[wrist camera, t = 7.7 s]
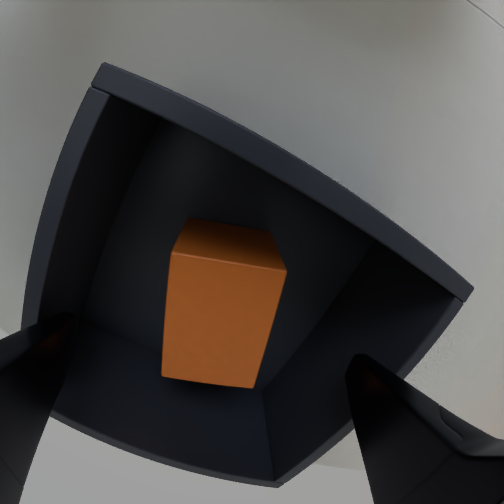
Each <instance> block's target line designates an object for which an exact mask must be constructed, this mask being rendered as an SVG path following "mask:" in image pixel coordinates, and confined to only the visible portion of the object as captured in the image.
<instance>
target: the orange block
mask: <svg viewBox="0 0 504 504" xmlns="http://www.w3.org/2000/svg"><path fill="white" fill-rule="evenodd" d="M286 275H287V270H286V267H285V265H284V262H283V260H282V258H281V255H280V253H279V251H278V248H277V246H276V244H275V241H274V239H273V237H272V234H271V232H269V231H264V230H259V229H253V228H248V227H242V226H236V225H231V224H225V223H219V222H213V221H207V220H202V219H196V218H190V217H188V218H187V219H186V221H185V224H184V226H183V228H182V230H181V232H180V234H179V236H178V238H177V241H176V243H175V245H174V247H173V249H172V252H171V255H170V264H169V273H168V283H167V293H166V304H165V317H164V330H163V345H162V364H161V375H162V376H163V377H169V378H174V379H180V380H187V381H193V382H200V383H208V384H216V385H224V386H233V387H243V388H253V387H254V385H255V382H256V378H257V375H258V372H259V369H260V365H261V362H262V359H263V355H264V352H265V349H266V345H267V342H268V339H269V335H270V332H271V328H272V325H273V321H274V318H275V314H276V311H277V307H278V304H279V300H280V297H281V293H282V290H283V286H284V282H285V279H286Z"/></svg>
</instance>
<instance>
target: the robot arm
mask: <svg viewBox="0 0 504 504" xmlns="http://www.w3.org/2000/svg"><path fill="white" fill-rule="evenodd" d="M78 340H79V332H78V323H77V316H76V314H75V313H71V312H67V311H63V312H61V313H58V314H56V315H54V316H52V317H49V318H47V319H45V320H43V321H40V322H38V323H36V324H34V325H32V326H29V327H27V328H25V329H23V330H20V331H18V332H16V333H14V334H12V335H9V336H7V337H5V338H3V339H1V340H0V504H19V501H20V498H21V495H22V491H23V486H24V484H25V481H26V478H27V475H28V472H29V469H30V466H31V463H32V460H33V457H34V454H35V452H36V449H37V446H38V444H39V441H40V438H41V436H42V433H43V431H44V428H45V425H46V423H47V421H48V418H49V416H50V413H51V411H52V409H53V406H54V404H55V402H56V399H57V397H58V395H59V393H60V390H61V388H62V386H63V383H64V381H65V379H66V376H67V373H68V370H69V367H70V364H71V361H72V358H73V355H74V352H75V349H76V346H77V343H78ZM345 382H346V388H347V393H348V399H349V406H350V411H351V416H352V420H353V424H354V427H355V431H356V435H357V438H358V442H359V446H360V449H361V453H362V457H363V461H364V465H365V469H366V473H367V476H368V480H369V485H370V489H371V493H372V497H373V501H374V504H504V440H502V439H497V438H494V437H492V436H490V435H489V434H487V433H485V432H483V431H481V430H480V429H478V428H476V427H474V426H473V425H471V424H469V423H467V422H466V421H464V420H462V419H461V418H459V417H457V416H456V415H454V414H453V413H451V412H450V411H448V410H447V409H445V408H444V407H442V406H441V405H440V406H439V404H438V403H436V402H435V401H433V400H432V399H431V398H429V397H428V396H426V395H425V394H423V393H422V392H420V391H419V390H417V389H416V388H415V387H413V386H412V385H410V384H409V383H407V382H406V381H404V380H403V379H402V378H400V377H399V376H397V375H396V374H394V373H393V372H392V371H390V370H389V369H387V368H386V367H384V366H383V365H382V364H380V363H379V362H377V361H376V360H374V359H373V358H372V357H370V356H369V355H367V354H358V353H357V354H355V355H354V356H353V357H352V360H351V362H350V364H349V366H348V368H347V370H346V372H345Z"/></svg>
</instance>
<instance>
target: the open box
mask: <svg viewBox="0 0 504 504" xmlns="http://www.w3.org/2000/svg"><path fill="white" fill-rule="evenodd" d="M91 86H92V87H89V89H88V91H87V93H86V95H85V97H84V99H83V101H82V103H81V105H80V107H79V110H78V112H77V114H76V116H75V119H74V121H73V123H72V125H71V128H70V130H69V133H68V135H67V138H66V140H65V143H64V145H63V148H62V150H61V153H60V156H59V159H58V161H57V164H56V167H55V170H54V173H53V176H52V179H51V182H50V185H49V188H48V191H47V195H46V198H45V202H44V205H43V209H42V212H41V216H40V220H39V224H38V228H37V232H36V236H35V241H34V245H33V250H32V255H31V260H30V265H29V270H28V276H27V282H26V289H25V296H24V304H23V312H22V322H21V330H23V329H25V328H27V327H29V326H32V325H34V324H36V323H38V322H40V321H43V320H45V319H47V318H49V317H52V316H54V315H56V314H58V313H61V312H63V311H67V312H71V313H75V314H76V316H77V323H78V332H79V340H78V343H77V346H76V349H75V352H74V355H73V358H72V361H71V364H70V367H69V370H68V373H67V376H66V379H65V381H64V383H63V386H62V388H61V390H60V393H59V395H58V397H57V399H56V402H55V404H54V406H53V409H52V411H51V413H50V417H52V418H54V419H56V420H58V421H60V422H62V423H64V424H66V425H68V426H70V427H72V428H74V429H76V430H78V431H80V432H82V433H84V434H86V435H89V436H91V437H93V438H95V439H97V440H100V441H102V442H105V443H107V444H109V445H112V446H114V447H117V448H119V449H122V450H124V451H127V452H130V453H133V454H135V455H138V456H141V457H144V458H147V459H150V460H153V461H156V462H159V463H162V464H165V465H169V466H172V467H176V468H179V469H182V470H186V471H190V472H194V473H198V474H202V475H206V476H211V477H215V478H220V479H224V480H229V481H235V482H240V483H246V484H252V485H258V486H265V487H273V488H279V487H280V486H282V485H283V484H284V483H286V482H288V481H289V480H290V479H292V478H293V477H295V476H296V475H297V474H299V473H300V472H301V471H303V470H304V469H306V468H307V467H308V466H309V465H311V464H312V463H313V462H315V461H316V460H317V459H319V458H320V457H321V456H322V455H324V454H325V453H326V452H327V451H329V450H330V449H331V448H332V447H333V446H335V445H336V444H337V443H338V442H339V441H341V440H342V439H343V438H344V437H345V436H346V435H347V434H349V433H350V432H351V431H352V430H353V429H354V428H355V427H354V424H353V420H352V416H351V411H350V406H349V399H348V393H347V388H346V382H345V372H346V370H347V368H348V366H349V364H350V362H351V360H352V357H353V356H354V355H355V354H357V353H358V354H367V355H369V356H370V357H372V358H373V359H374V360H376V361H377V362H379V363H380V364H382V365H383V366H384V367H386V368H387V369H389V370H390V371H392V372H393V373H394V374H396V375H397V376H399V377H400V378H402V379H403V380H404V378H405V377H406V376H407V375H408V374H409V373H410V372H411V371H412V370H413V368H414V367H415V366H416V365H417V364H418V363H419V362H420V360H421V359H422V358H423V357H424V356H425V354H426V353H427V352H428V351H429V350H430V348H431V347H432V346H433V345H434V343H435V342H436V341H437V340H438V338H439V337H440V336H441V334H442V333H443V332H444V331H445V329H446V328H447V327H448V325H449V324H450V323H451V321H452V320H453V318H454V317H455V316H456V314H457V313H458V312H459V310H460V309H461V307H462V306H463V302H466V300H467V299H468V297H469V296H470V294H471V293H472V291H473V290H474V287H473V286H472V285H471V284H470V283H469V282H468V281H467V280H465V279H464V278H463V277H462V276H461V275H460V274H458V273H457V272H456V271H455V270H454V269H453V268H451V267H450V266H449V265H448V264H447V263H445V262H444V261H443V260H442V259H441V258H439V257H438V256H437V255H436V254H434V253H433V252H432V251H431V250H430V249H428V248H427V247H426V246H424V245H423V244H422V243H421V242H419V241H418V240H417V239H416V238H414V237H413V236H412V235H410V234H409V233H408V232H406V231H405V230H404V229H403V228H401V227H400V226H399V225H397V224H396V223H394V222H393V221H392V220H390V219H389V218H388V217H386V216H385V215H384V214H382V213H381V212H379V211H378V210H377V209H375V208H374V207H372V206H371V205H370V204H368V203H367V202H365V201H364V200H362V199H361V198H360V197H358V196H357V195H355V194H354V193H352V192H351V191H349V190H348V189H346V188H345V187H343V186H342V185H340V184H339V183H337V182H336V181H334V180H333V179H331V178H330V177H328V176H327V175H325V174H323V173H322V172H320V171H319V170H317V169H316V168H314V167H312V166H311V165H309V164H308V163H306V162H304V161H303V160H301V159H299V158H298V157H296V156H295V155H293V154H291V153H290V152H288V151H286V150H284V149H283V148H281V147H279V146H278V145H276V144H274V143H273V142H271V141H269V140H267V139H266V138H264V137H262V136H260V135H258V134H257V133H255V132H253V131H251V130H249V129H248V128H246V127H244V126H242V125H240V124H238V123H237V122H235V121H233V120H231V119H229V118H227V117H225V116H223V115H221V114H219V113H217V112H216V111H214V110H212V109H210V108H208V107H206V106H204V105H202V104H200V103H198V102H195V101H193V100H191V99H189V98H187V97H185V96H183V95H181V94H179V93H177V92H174V91H172V90H170V89H168V88H166V87H163V86H161V85H159V84H157V83H154V82H152V81H150V80H148V79H145V78H143V77H140V76H138V75H136V74H133V73H131V72H128V71H126V70H124V69H121V68H118V67H116V66H113V65H111V64H108V63H106V62H104V63H102V64H101V66H100V68H99V70H98V72H97V74H96V75H95V77H94V79H93V81H92V83H91ZM188 217H190V218H196V219H202V220H207V221H213V222H219V223H225V224H231V225H236V226H242V227H248V228H253V229H259V230H264V231H269V232H271V234H272V237H273V239H274V241H275V244H276V246H277V248H278V251H279V253H280V255H281V258H282V260H283V262H284V265H285V267H286V270H287V275H286V279H285V282H284V286H283V290H282V293H281V297H280V300H279V304H278V307H277V311H276V314H275V318H274V321H273V325H272V328H271V332H270V335H269V339H268V342H267V345H266V349H265V352H264V355H263V359H262V362H261V365H260V369H259V372H258V375H257V378H256V382H255V385H254V387H253V388H243V387H233V386H224V385H216V384H208V383H200V382H193V381H187V380H180V379H174V378H169V377H163V376H162V375H161V364H162V345H163V330H164V317H165V304H166V293H167V283H168V273H169V264H170V255H171V252H172V249H173V247H174V245H175V243H176V241H177V238H178V236H179V234H180V232H181V230H182V228H183V226H184V224H185V221H186V219H187V218H188Z"/></svg>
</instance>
